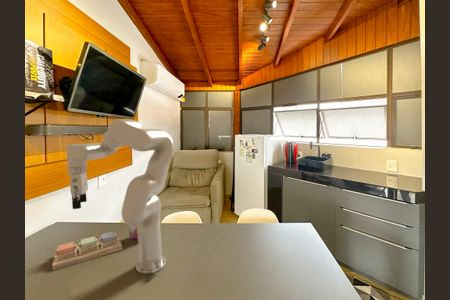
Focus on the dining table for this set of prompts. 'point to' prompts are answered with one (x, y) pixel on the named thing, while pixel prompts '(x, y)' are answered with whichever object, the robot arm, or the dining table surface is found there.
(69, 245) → the terracotta button
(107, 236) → the slate button
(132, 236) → the candy bar box
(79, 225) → the dining table surface
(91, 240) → the sage button
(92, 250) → the button panel
